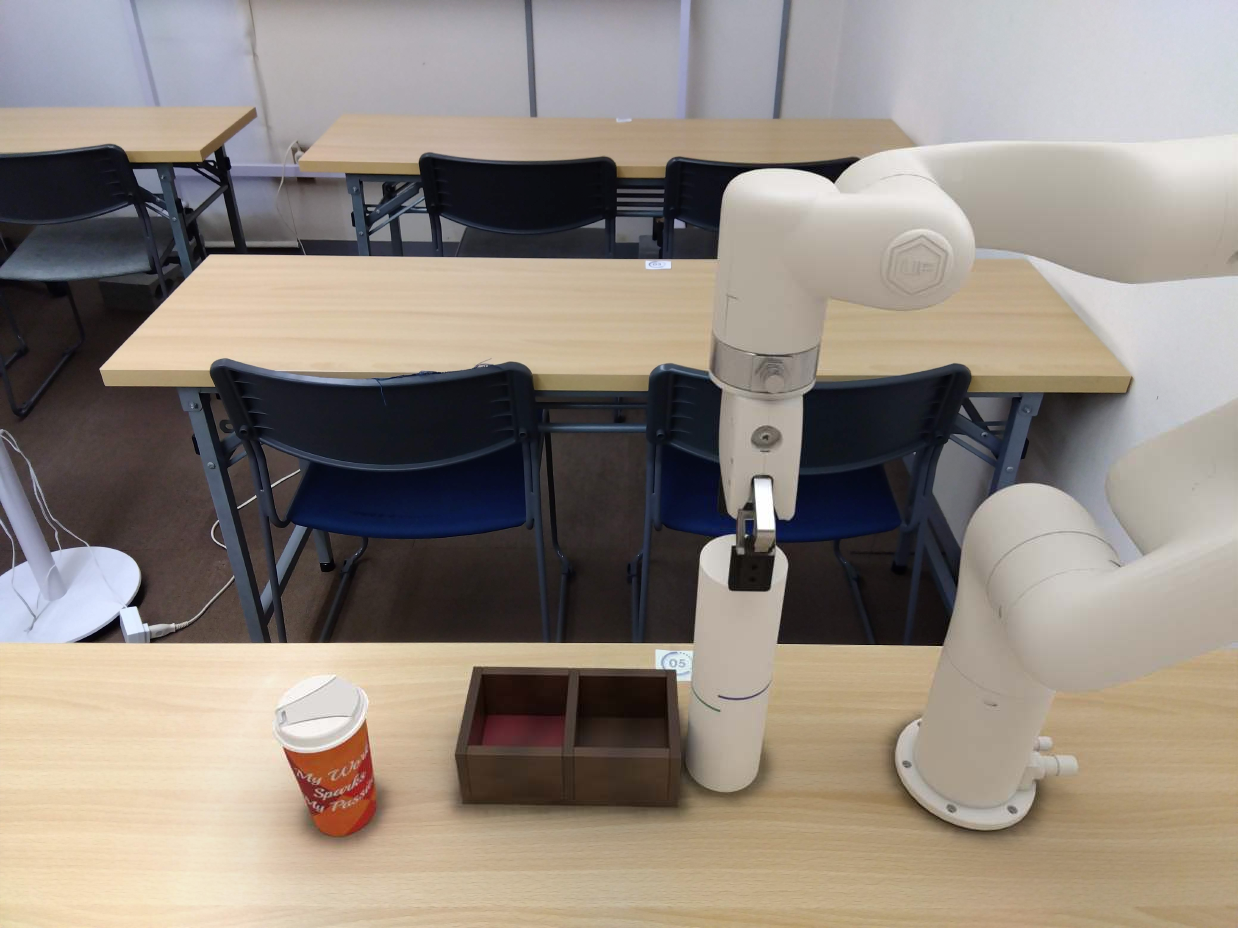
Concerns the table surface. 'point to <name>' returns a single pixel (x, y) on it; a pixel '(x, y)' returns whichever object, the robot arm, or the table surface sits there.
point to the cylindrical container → (731, 671)
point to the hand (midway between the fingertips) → (741, 548)
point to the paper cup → (329, 751)
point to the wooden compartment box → (570, 737)
